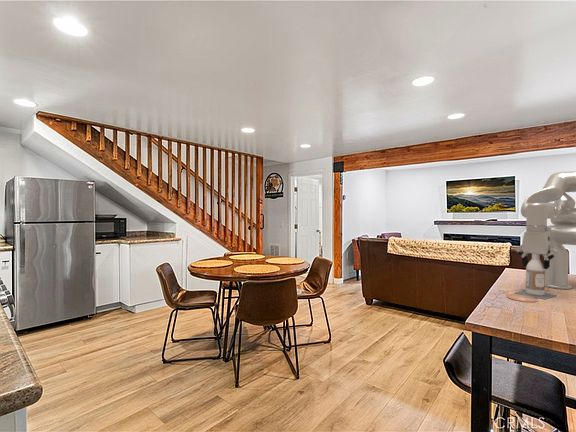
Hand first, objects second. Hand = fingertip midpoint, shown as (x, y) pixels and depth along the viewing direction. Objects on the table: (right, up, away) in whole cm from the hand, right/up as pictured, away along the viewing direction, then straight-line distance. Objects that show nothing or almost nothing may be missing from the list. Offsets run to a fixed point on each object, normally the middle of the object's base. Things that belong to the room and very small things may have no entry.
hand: (535, 267), depth 145 cm
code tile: (0, -13, 0) cm, 13 cm away
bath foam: (0, -13, 0) cm, 13 cm away
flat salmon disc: (-11, -13, -7) cm, 19 cm away
